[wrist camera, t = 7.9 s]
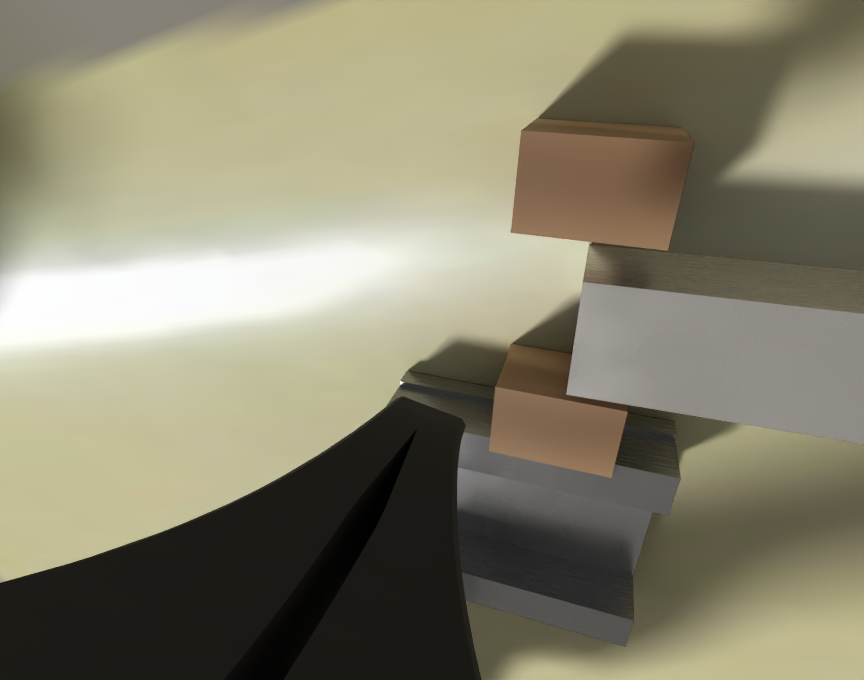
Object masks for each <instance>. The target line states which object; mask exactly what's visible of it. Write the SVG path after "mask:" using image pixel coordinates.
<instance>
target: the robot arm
mask: <svg viewBox="0 0 864 680" xmlns="http://www.w3.org/2000/svg"><path fill="white" fill-rule="evenodd" d="M465 427H466V425H465V423H464V421H463V419H462V418H459V417H457V416H454V415H451V414H449V413H446V412H443V411H441V410H438V409H435V408H433V407H430V406H427V405H425V404H422V403H419V402H417V401H414V400H412V399H409V398H406V397H404V396H401V397H399V398H396V399H395V400H394V401H392V402H391V403H390V404H389V405H388V406H387V407H385V408H384V409H383V410H382V411H380V412H379V413H378V414H376V415H375V416H374V417H373V418H371V419H370V420H369V421H367V422H366V423H365V424H363V425H362V426H360V427H359V428H358V429H356V430H355V431H354V432H352V433H351V434H349V435H348V436H346V437H345V438H343V439H342V440H340V441H339V442H337V443H336V444H334V445H333V446H331V447H330V448H328V449H327V450H325V451H324V452H322V453H321V454H319V455H318V456H316V457H314V458H312V459H311V460H309V461H307V462H306V463H304V464H302V465H301V466H299V467H297V468H296V469H294V470H292V471H291V472H289V473H287V474H286V475H284V476H282V477H280V478H278V479H277V480H275V481H273V482H271V483H269V484H267V485H266V486H264V487H262V488H260V489H258V490H256V491H254V492H252V493H250V494H248V495H246V496H244V497H242V498H240V499H238V500H235V501H233V502H231V503H229V504H227V505H225V506H223V507H220V508H218V509H216V510H213V511H211V512H209V513H207V514H204V515H202V516H200V517H197V518H195V519H193V520H190V521H188V522H186V523H183V524H181V525H178V526H176V527H173V528H171V529H168V530H166V531H163V532H161V533H158V534H155V535H152V536H149V537H146V538H144V539H141V540H138V541H135V542H132V543H129V544H126V545H124V546H121V547H118V548H115V549H112V550H109V551H106V552H104V553H101V554H98V555H95V556H92V557H89V558H86V559H83V560H79V561H76V562H73V563H70V564H66V565H63V566H59V567H56V568H52V569H48V570H45V571H41V572H38V573H34V574H31V575H27V576H23V577H20V578H16V579H13V580H9V581H6V582H2V583H0V680H481V676H480V672H479V668H478V663H477V659H476V654H475V650H474V645H473V640H472V634H471V629H470V623H469V618H468V612H467V606H466V599H465V592H464V585H463V578H462V569H461V560H460V549H459V535H458V517H457V475H458V461H459V452H460V445H461V440H462V436H463V433H464V430H465Z"/></svg>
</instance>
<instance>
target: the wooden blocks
mask: <svg viewBox="0 0 864 680" xmlns="http://www.w3.org/2000/svg"><path fill="white" fill-rule="evenodd" d="M693 146H694V142H693V140H692V139H691V138H690V137H689V136H688V134H687V133H686V132H685V131H684V130H683V128H680V127H664V126H649V125H633V124H617V123H601V122H586V121H570V120H554V119H538V118H537V119H536V120H534V121H533V122H532V123H531V124H529V125H528V126H527V127H525V128H524V129H523V130H522V131H521V139H520V149H519V159H518V169H517V179H516V188H515V198H514V208H513V218H512V228H511V233H519V234H528V235H536V236H545V237H553V238H562V239H571V240H579V241H588V242H596V243H605V244H614V245H622V246H631V247H639V248H648V249H656V250H665V251H668V247H669V243H670V239H671V235H672V231H673V227H674V223H675V219H676V215H677V211H678V207H679V203H680V199H681V195H682V191H683V187H684V183H685V179H686V175H687V171H688V167H689V163H690V159H691V155H692V151H693ZM571 359H572V354H570V353H564V352H558V351H552V350H546V349H540V348H534V347H528V346H522V345H516V344H511V346H510V349H509V352H508V354H507V357H506V360H505V362H504V365H503V368H502V370H501V373H500V376H499V378H498V381H497V384H496V386H495V395H494V405H493V415H492V425H491V435H490V445H489V451H490V452H495V453H500V454H504V455H509V456H513V457H518V458H522V459H527V460H532V461H536V462H541V463H545V464H550V465H554V466H559V467H563V468H568V469H573V470H577V471H582V472H586V473H591V474H595V475H600V476H604V477H609V478H612V473H613V469H614V465H615V461H616V457H617V453H618V449H619V445H620V441H621V437H622V433H623V429H624V425H625V421H626V417H627V413H628V405H625V404H619V403H613V402H607V401H602V400H596V399H590V398H584V397H578V396H572V395H566V393H567V386H568V380H569V373H570V366H571Z"/></svg>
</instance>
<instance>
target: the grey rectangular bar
mask: <svg viewBox="0 0 864 680" xmlns="http://www.w3.org/2000/svg"><path fill="white" fill-rule="evenodd" d="M566 395H572V396H578V397H584V398H590V399H596V400H602V401H607V402H613V403H619V404H625V405H631V406H637V407H643V408H649V409H655V410H661V411H667V412H673V413H679V414H685V415H691V416H697V417H703V418H709V419H715V420H721V421H727V422H733V423H739V424H745V425H751V426H757V427H763V428H769V429H775V430H781V431H787V432H793V433H799V434H805V435H811V436H817V437H823V438H829V439H835V440H841V441H847V442H853V443H859V444H864V271H860V270H849V269H839V268H829V267H818V266H808V265H797V264H787V263H776V262H766V261H755V260H745V259H735V258H724V257H714V256H703V255H693V254H682V253H672V252H662V251H651V250H641V249H630V248H620V247H609V246H599V245H589V248H588V254H587V260H586V267H585V273H584V279H583V285H582V292H581V299H580V305H579V312H578V319H577V326H576V332H575V339H574V346H573V353H572V359H571V366H570V373H569V380H568V386H567V393H566Z"/></svg>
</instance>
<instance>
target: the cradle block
mask: <svg viewBox="0 0 864 680" xmlns="http://www.w3.org/2000/svg"><path fill="white" fill-rule="evenodd" d="M494 395H495V388H494V387H489V386H484V385H479V384H473V383H468V382H463V381H457V380H452V379H447V378H442V377H436V376H431V375H426V374H420V373H415V372H410V371H407V372H406V373H405V375H404V376H403V378H402V379H401V381H400V386H399V388H398V389H397V391H396V392H395V394H394V395H393V397H392V398H391V400H390V402H389V403H388V405H389V404H390V403H391V402H392V401H394V400H395V399H396V398H399V397H401V396H404V397H406V398H409V399H412V400H414V401H417V402H419V403H422V404H425V405H427V406H430V407H433V408H435V409H438V410H441V411H443V412H446V413H449V414H451V415H454V416H457V417H459V418H462V419H463V421H464V423H465V425H466V427H465V430H464V433H463V436H462V440H461V445H460V452H459V461H458V475H457V517H458V535H459V549H460V560H461V569H462V578H463V585H464V592H465V599H466V600H467V601H470V602H473V603H477V604H480V605H484V606H487V607H491V608H494V609H497V610H501V611H504V612H508V613H511V614H515V615H518V616H521V617H525V618H528V619H532V620H535V621H539V622H542V623H545V624H549V625H552V626H556V627H559V628H563V629H566V630H570V631H573V632H576V633H580V634H583V635H587V636H590V637H594V638H597V639H600V640H604V641H607V642H611V643H614V644H618V645H621V646H624V647H625V646H626V643H627V640H628V637H629V634H630V631H631V628H632V625H633V622H634V605H633V574H634V571H635V568H636V565H637V562H638V558H639V555H640V552H641V549H642V545H643V542H644V539H645V536H646V532H647V529H648V526H649V523H650V519H651V516H652V513H653V512H654V513H658V514H662V515H667V516H668V515H669V512H670V509H671V506H672V503H673V500H674V497H675V494H676V491H677V488H678V485H679V482H680V479H681V478H680V471H679V464H678V457H677V450H676V443H675V438H676V429H675V422H674V421H669V420H664V419H658V418H653V417H648V416H642V415H637V414H632V413H627V417H626V421H625V425H624V429H623V433H622V437H621V441H620V445H619V449H618V453H617V457H616V461H615V465H614V469H613V473H612V478H609V477H604V476H600V475H595V474H591V473H586V472H582V471H577V470H573V469H568V468H563V467H559V466H554V465H550V464H545V463H541V462H536V461H532V460H527V459H522V458H518V457H513V456H509V455H504V454H500V453H495V452H490V451H489V445H490V435H491V425H492V415H493V405H494ZM388 405H387V406H388ZM387 406H386V407H387Z"/></svg>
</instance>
